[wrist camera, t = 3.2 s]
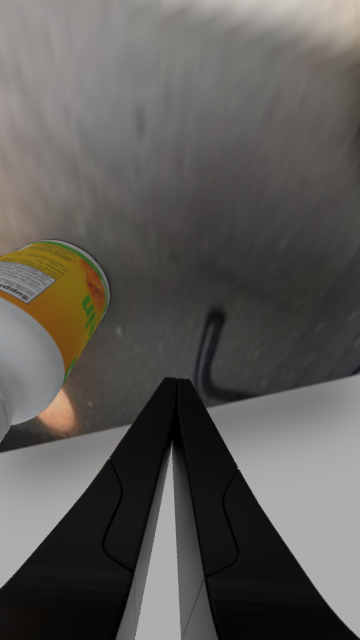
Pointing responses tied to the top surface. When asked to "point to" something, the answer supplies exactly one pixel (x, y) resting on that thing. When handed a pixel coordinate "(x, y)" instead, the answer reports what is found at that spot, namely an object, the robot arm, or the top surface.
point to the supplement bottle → (44, 323)
